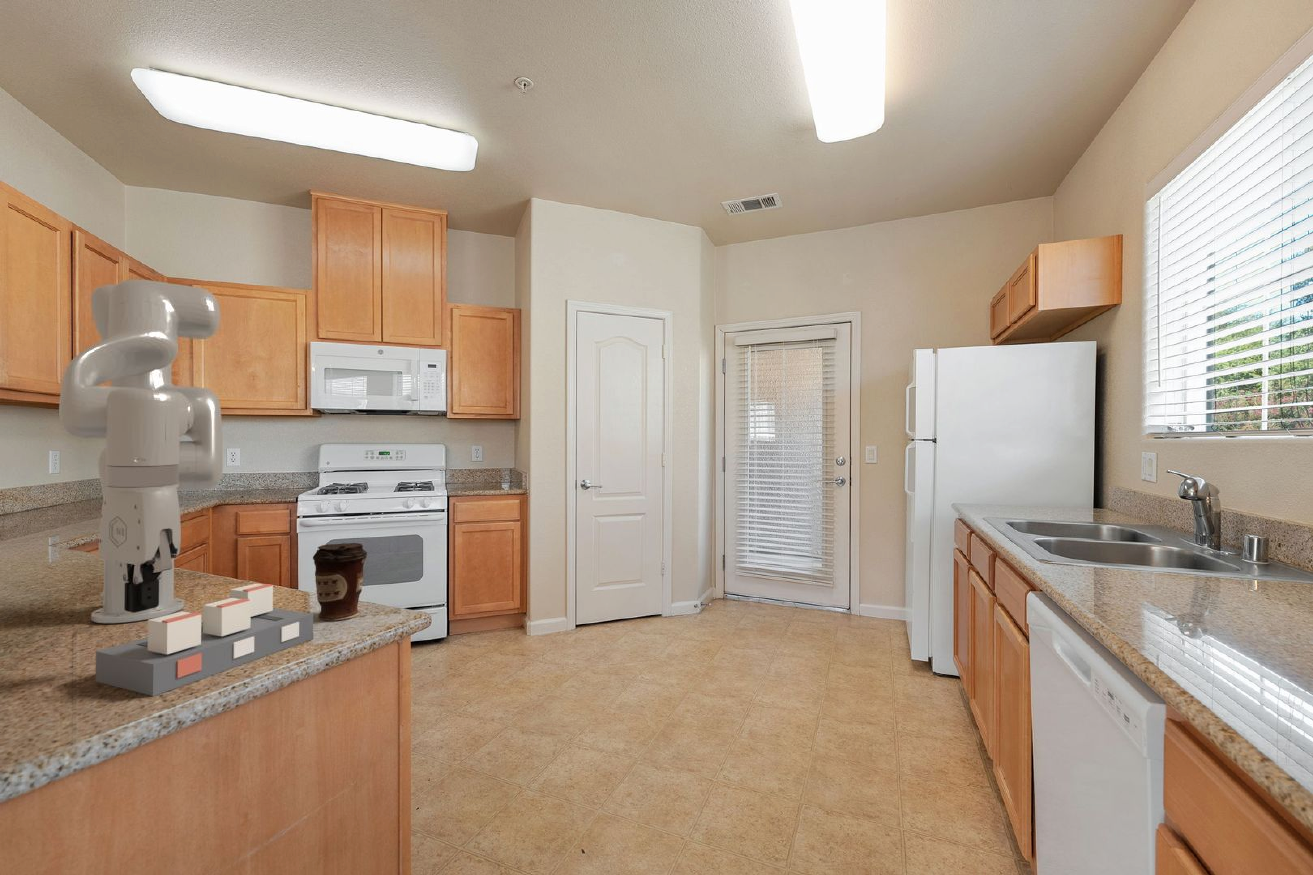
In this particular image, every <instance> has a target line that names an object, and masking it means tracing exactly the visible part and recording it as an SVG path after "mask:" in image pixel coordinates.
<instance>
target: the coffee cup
mask: <svg viewBox="0 0 1313 875" xmlns="http://www.w3.org/2000/svg"><path fill="white" fill-rule="evenodd" d="M367 556H368V552H367V551H366V550H364V545H363V544H362V543H359V542H357V543H356V542H348V543H347V542H343V543H333V544H332V543H331V544H330V543H328V544H322V545H320V546H318V547H317V550H316V552H315V553H314V555H313V556H312V560H313V564H314V566H315V571H314V575H315V587H316V598H317V602H318V604H319V605H320V612H319V614H318V618H319V619H320V620H322V621H323V620H324V621H342V620H349V619H352V618H356V617H358V616H359V615H360V611H359V610H358V604H359V600H360V595H361V593H362V590H363V589H362V587H363V580H364V565H365V561H366V559H367Z"/></svg>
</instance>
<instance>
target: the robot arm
mask: <svg viewBox="0 0 1313 875" xmlns="http://www.w3.org/2000/svg"><path fill="white" fill-rule="evenodd" d="M90 310H91V315H92V319H93V323H94V325H95V329H96V331H97V334H98V335H99V338H100V340H101V341H99V342H96V343H95V344H93V345H91V346H89V347H88V348H86V349H85V350H82V351H81V352H80V353H78V354H77V355H76V356H75V357H73V359H72V360H71V361H70V362H69V363H68V365H66V368H65V370H64V373H63V376H62V379H61V380H62V381H61V388H60V389H61V390H60V398H59V406H58V408H59V409H58V412H59V413H58V414H59V420H60V424H61V426H62V427H63V429H64V430H65V432H67V433H68V434H69V435H72V436H73V437H76V438H80V439H99V440H101V439H105V440H106V441H105V447H104V448H103V449H102V450H101V451H100V453H99V456H98V460H97V467H98V469H97V470H98V474H99V480H100V484H101V485H100V486H101V490H102V498H103V501H102V507H101V513H100V521H99V522H100V523H99V533H98V534H99V536H98V537H99V538H98V554H99V556H101V557H102V559H103V591H102V592H101V593H100V594H99V596H100V599H102V600H103V606H102V607H100V608H98V609H96V610H94V611H92V613H90V614H91V615H90V620H91V621H92V622H94V623H98V624H121V623H133V622H140V621H145V620H150V619H154V618H158V617H162V616H166V615H170V614H174V613H177V612H178V611H180V610H182V609H184V607H185V600H184V599H182V598H180V597H175V596H174V594H175V592H174V591H175V590H174V586H175V558H176V557H178V556H179V554H180V551H181V543H182V542H181V540H182V532H181V531H182V530H181V529H182V528H181V510H180V502H179V495H178V492H187V491H189V492H190V491H193V492H194V491H204V490H210V489H213V488H216V487H217V486H218V485H219V483H220V482H221V480H222V477H223V463H224V462H223V429H222V428H223V427H222V425H223V423H222V411H221V410H222V408H221V403H220V400H219V398H218V396H217V394H216V393H215V392H214V391H213V390H211V389H208V388H204V387H199V386H198V387H197V386H188V385H187V386H183V385H174V384H173V383H172V368H173V367H172V366H173V365H172V363H174V362H175V360H176V359H177V357H178V353H179V343H178V342H179V341H178V339H179V338H185V339H186V338H187V339H195V340H196V339H197V340H198V339H199V340H207V339H209V338H211V337H213V336H214V335H216V334H217V331H218V330H219V328H220V325H221V324H220V323H221V309H220V305H219V302H218V300H217V298H216V296H215V295H214V294H213V293H212V292H211V291H209V290H207V289H205V288H201V287H197V286H189V285H184V284H177V283H170V282H163V281H157V280H150V279H141V278H140V279H138V278H137V279H135V278H134V279H127V280H123V281H120V282H118V283H117V284H106V285H101V286H99V287H97V288H96V287H95V289H94V290H93V291H92V293H91V296H90ZM106 382H110V386H109V385H102V384H105V383H106ZM182 436H187V437H189V438H190V439H191V440H180V437H182Z"/></svg>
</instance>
